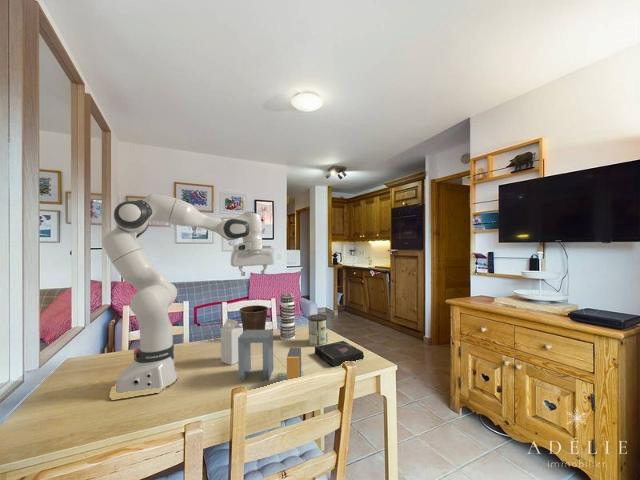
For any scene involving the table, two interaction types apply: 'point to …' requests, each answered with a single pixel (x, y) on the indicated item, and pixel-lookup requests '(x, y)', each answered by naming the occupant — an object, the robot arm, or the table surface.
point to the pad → (284, 377)
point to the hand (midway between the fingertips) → (253, 275)
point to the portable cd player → (338, 353)
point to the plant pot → (253, 317)
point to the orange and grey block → (294, 363)
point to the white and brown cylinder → (287, 316)
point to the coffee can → (317, 330)
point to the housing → (245, 352)
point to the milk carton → (230, 341)
